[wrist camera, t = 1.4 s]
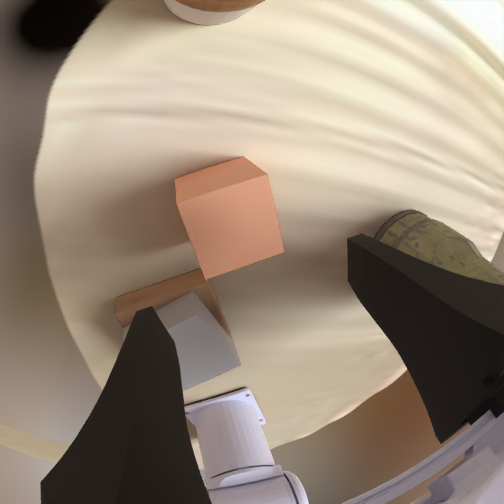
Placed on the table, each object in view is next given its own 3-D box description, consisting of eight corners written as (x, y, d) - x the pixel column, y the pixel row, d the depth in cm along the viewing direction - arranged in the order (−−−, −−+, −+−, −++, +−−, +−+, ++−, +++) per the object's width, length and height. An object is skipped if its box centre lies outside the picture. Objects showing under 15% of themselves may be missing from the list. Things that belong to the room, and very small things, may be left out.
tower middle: (233, 341, 22) (240, 364, 20) (170, 371, 22) (173, 395, 20) (193, 290, 19) (197, 314, 17) (123, 327, 19) (121, 352, 17)
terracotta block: (258, 218, 20) (284, 252, 16) (196, 239, 20) (205, 279, 16) (243, 156, 18) (267, 174, 14) (174, 178, 18) (176, 203, 13)
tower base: (228, 328, 25) (235, 348, 23) (155, 352, 24) (156, 373, 22) (202, 263, 21) (207, 282, 19) (117, 293, 21) (114, 314, 18)
